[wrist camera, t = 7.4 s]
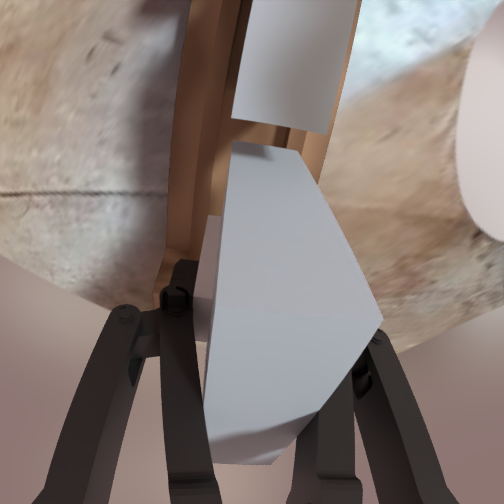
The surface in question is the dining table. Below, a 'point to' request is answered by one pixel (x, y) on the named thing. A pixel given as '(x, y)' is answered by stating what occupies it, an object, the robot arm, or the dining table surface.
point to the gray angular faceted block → (278, 308)
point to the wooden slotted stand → (249, 100)
